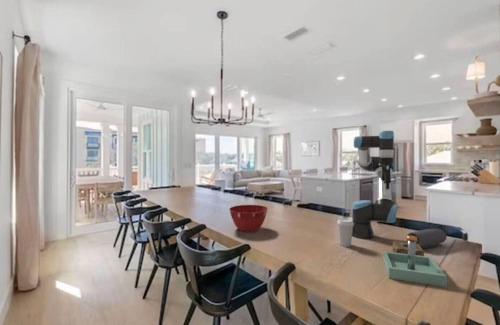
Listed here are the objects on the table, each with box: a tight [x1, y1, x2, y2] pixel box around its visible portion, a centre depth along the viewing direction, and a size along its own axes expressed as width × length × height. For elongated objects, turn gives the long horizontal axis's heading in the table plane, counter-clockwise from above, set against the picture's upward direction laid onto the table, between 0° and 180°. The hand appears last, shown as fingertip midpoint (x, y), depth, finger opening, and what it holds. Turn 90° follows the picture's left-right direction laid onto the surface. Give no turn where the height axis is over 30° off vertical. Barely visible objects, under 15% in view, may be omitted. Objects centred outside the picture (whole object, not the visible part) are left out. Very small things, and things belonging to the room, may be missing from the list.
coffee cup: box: [337, 218, 354, 248], centre depth 153 cm, size 10×10×15 cm
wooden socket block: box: [392, 240, 425, 256], centre depth 134 cm, size 12×12×6 cm
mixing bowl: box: [228, 204, 268, 233], centre depth 186 cm, size 28×28×16 cm
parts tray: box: [382, 250, 448, 288], centre depth 117 cm, size 21×21×4 cm
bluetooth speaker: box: [406, 228, 447, 249], centre depth 150 cm, size 23×9×10 cm, turn 111°
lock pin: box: [406, 234, 417, 270], centre depth 117 cm, size 4×4×15 cm
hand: (385, 193), depth 150 cm, fingers open, 13 cm apart
